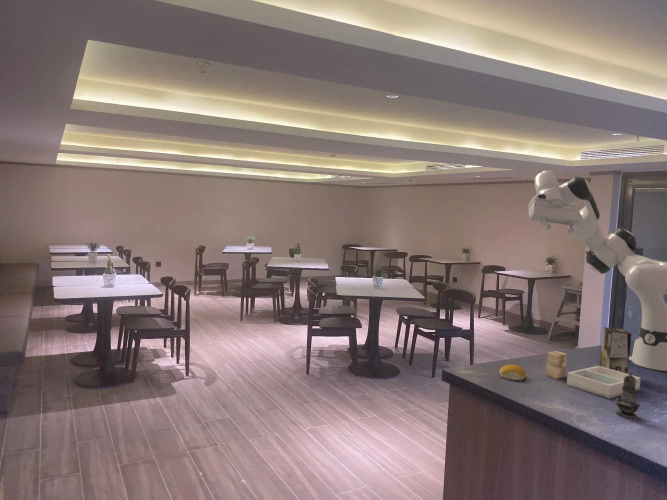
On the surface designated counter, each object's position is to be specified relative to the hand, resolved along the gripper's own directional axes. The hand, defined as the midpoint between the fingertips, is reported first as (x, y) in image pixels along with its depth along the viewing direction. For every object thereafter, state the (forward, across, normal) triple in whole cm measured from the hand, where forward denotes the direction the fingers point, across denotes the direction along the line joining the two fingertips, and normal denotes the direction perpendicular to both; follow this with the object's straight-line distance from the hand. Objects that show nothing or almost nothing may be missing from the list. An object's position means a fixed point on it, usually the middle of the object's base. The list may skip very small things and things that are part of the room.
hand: (559, 230), depth 184 cm
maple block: (+51, +4, -19) cm, 54 cm away
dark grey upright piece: (+72, +1, +6) cm, 72 cm away
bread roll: (+53, +20, -18) cm, 60 cm away
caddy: (+57, -7, -10) cm, 58 cm away
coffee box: (+47, -19, -20) cm, 55 cm away
